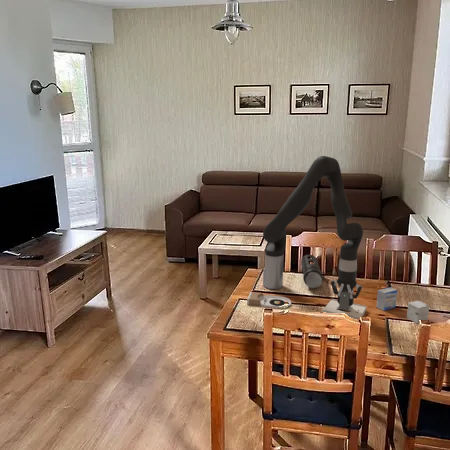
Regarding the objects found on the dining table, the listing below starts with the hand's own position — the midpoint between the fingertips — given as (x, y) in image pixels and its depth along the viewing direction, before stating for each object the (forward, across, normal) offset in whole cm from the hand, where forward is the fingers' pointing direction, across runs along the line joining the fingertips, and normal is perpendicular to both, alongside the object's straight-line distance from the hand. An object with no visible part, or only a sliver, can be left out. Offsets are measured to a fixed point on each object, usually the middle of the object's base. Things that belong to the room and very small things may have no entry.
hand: (345, 304), depth 199 cm
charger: (+1, 0, 0) cm, 1 cm away
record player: (+5, -34, -6) cm, 34 cm away
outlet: (+4, 0, 0) cm, 4 cm away
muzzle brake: (+4, -26, +30) cm, 40 cm away
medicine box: (+4, +15, +15) cm, 21 cm away
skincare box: (+4, +29, +9) cm, 31 cm away
